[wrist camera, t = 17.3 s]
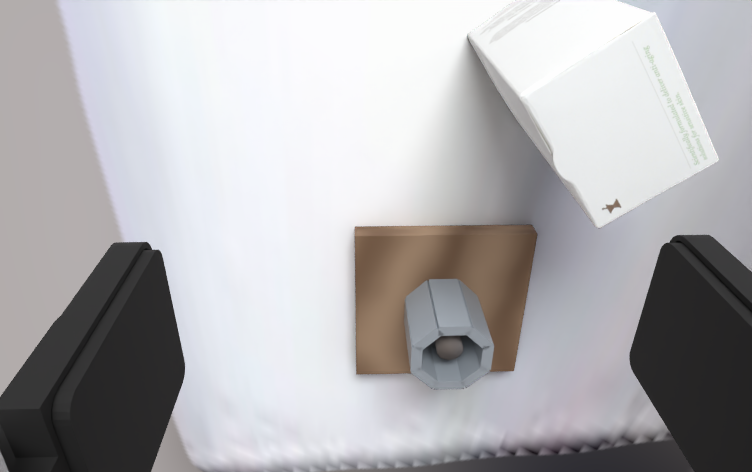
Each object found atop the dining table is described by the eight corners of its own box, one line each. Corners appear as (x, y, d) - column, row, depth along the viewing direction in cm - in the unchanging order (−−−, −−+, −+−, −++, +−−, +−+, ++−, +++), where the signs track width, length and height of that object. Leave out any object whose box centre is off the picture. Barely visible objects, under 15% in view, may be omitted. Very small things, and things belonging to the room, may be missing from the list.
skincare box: (600, 78, 39) (730, 166, 26) (516, 131, 41) (597, 239, 28) (546, -31, 36) (665, 4, 22) (457, 32, 38) (516, 101, 24)
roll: (480, 278, 46) (497, 325, 40) (473, 336, 49) (488, 388, 43) (405, 279, 45) (412, 327, 40) (403, 338, 48) (409, 389, 43)
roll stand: (532, 224, 45) (557, 269, 39) (509, 359, 52) (529, 414, 46) (354, 226, 44) (355, 272, 39) (356, 362, 51) (356, 418, 46)
